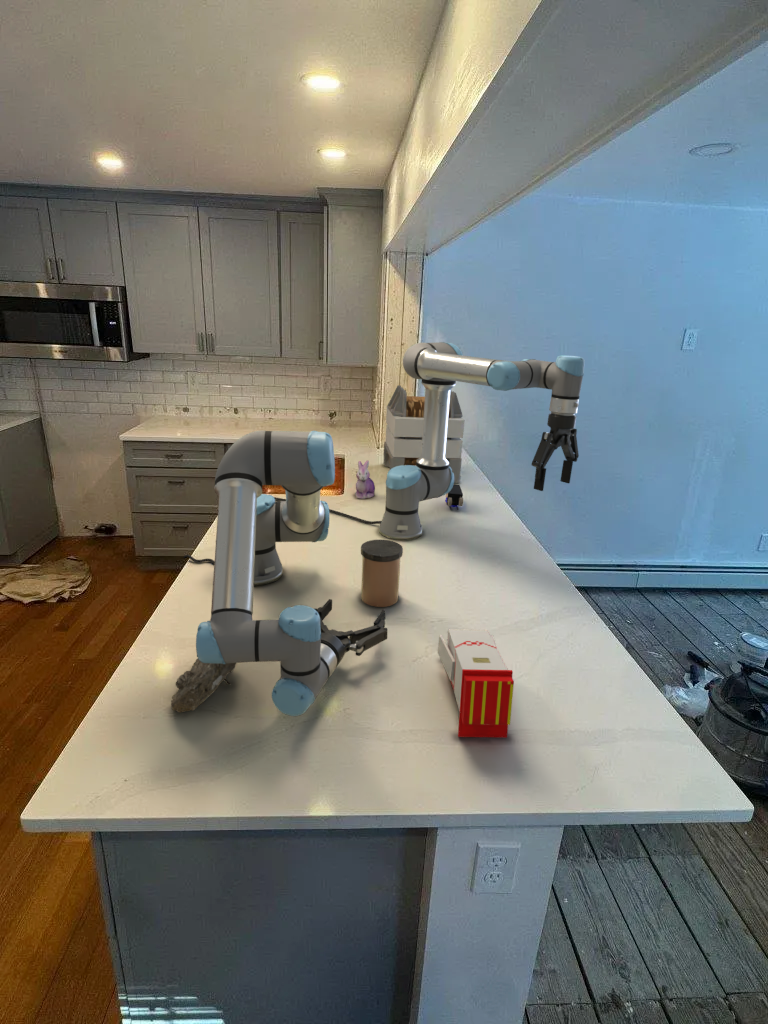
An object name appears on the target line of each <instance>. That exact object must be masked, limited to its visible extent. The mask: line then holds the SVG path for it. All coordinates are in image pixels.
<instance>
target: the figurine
mask: <svg viewBox="0 0 768 1024" xmlns="http://www.w3.org/2000/svg"><path fill="white" fill-rule="evenodd" d="M369 465H370V461H369V460H366V461H365V462H364V464H363V463H362V461H361V460H358V462H357V468H358V470H357V472H356V478H357V481H356V483H355V493H354V494H355V498H357V499H363V500H364V499H370V498H373V497H374V496H375V492H376V486H375V482H374V480H373V479H372V478H371V477H370V476H371V474H370V471H369V469H368V468H369Z"/></svg>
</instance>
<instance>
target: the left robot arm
mask: <svg viewBox="0 0 768 1024" xmlns="http://www.w3.org/2000/svg"><path fill="white" fill-rule="evenodd" d="M332 437H333V436H332V435H331V434H330V433H329V432H326V431H318V430H311V431H298V430H297V431H291V430H290V431H289V430H255V431H252V432H249V433H246V434H244V435H242V436H241V437H239V438H238V439H237V440H236V441H235V442H234V443H232V445H231V446H230V447H229V448H228V449H227V451H226V452H225V453H224V455H223V456H222V458H221V459H220V462H219V464H218V466H217V469H216V472H215V477H214V486H213V487H214V488H213V489H214V492H215V494H216V495H217V496H218V505H217V506H218V507H217V518H216V519H217V520H216V521H217V522H216V535H215V536H216V537H215V548H214V560H213V559H212V558H203V559H196V558H194V557H193V556H192V555H190V554H185V555H184V556H183V557H182V558H183V559H187V558H188V559H190V560H191V561H192V562H194V563H205V562H210V563H211V564H213V579H212V593H211V609H210V619H209V620H206V621H202V622H200V623H199V624H198V626H197V631H196V637H195V651H196V658H197V657H198V659H199V660H200V661H201V662H202V663H221V664H226V663H236V664H238V663H259V662H260V663H263V662H264V663H265V662H266V663H267V662H269V663H270V662H279V665H280V666H279V667H280V678H279V679H278V680H277V681H276V682H275V685H274V686H273V687H272V691H271V700H272V703H273V705H274V707H275V709H277V710H278V711H279V712H280V713H282V714H284V715H287V716H290V717H298V716H301V715H303V714H304V713H306V712H307V710H308V709H309V708H310V706H312V705H313V704H315V700H316V699H317V697H318V696H319V694H320V692H321V691H322V689H323V688H324V686H325V685H326V684H327V682H328V680H329V679H330V677H331V676H332V674H334V671H335V670H336V668H337V667H338V666H339V665H340V663H341V662H342V661H343V659H344V657H345V654H346V653H348V652H350V651H351V652H355V656H357V657H360V656H362V655H363V654H364V652H366V651H367V650H369V649H371V648H373V647H375V646H377V645H379V644H380V643H383V642H384V641H386V640H387V639H388V627H386V609H381V611H380V612H379V614H378V615H377V617H376V619H375V620H374V621H373V625H371V626H368V627H364V628H361V629H357V630H354V631H353V630H351V629H350V630H347V631H342V630H336V629H333V628H332V629H329V628H328V626H327V625H326V624H325V622H324V620H325V619H326V618H327V616H328V615H330V613H331V611H332V610H333V599H332V598H328V600H327V601H326V602H324V604H323V605H322V606H319V607H318V608H313V607H311V606H308V605H303V604H297V605H293V606H292V607H291V606H287V607H286V608H284V609H283V610H282V611H281V612H280V614H279V618H278V619H253V615H254V614H253V613H254V591H255V588H254V587H255V586H256V587H257V586H265V585H268V584H271V583H274V582H276V581H278V580H279V579H281V577H282V576H283V574H284V573H283V572H284V571H283V569H284V568H283V564H282V562H281V559H280V557H279V554H278V551H277V547H276V546H277V545H276V544H277V543H317V542H324V541H325V540H327V537H328V536H329V535H328V534H329V528H330V512H329V509H330V507H329V504H328V502H327V501H325V500H321V491H322V489H323V488H324V487H328V486H332V485H333V484H334V483H335V479H336V468H335V467H336V461H335V451H334V449H335V448H334V441H333V438H332ZM263 486H281V487H282V488H283V490H285V499H286V501H279V500H275V499H274V497H275V496H274V495H272V494H267V493H263Z"/></svg>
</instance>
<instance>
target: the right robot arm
mask: <svg viewBox="0 0 768 1024" xmlns="http://www.w3.org/2000/svg"><path fill="white" fill-rule="evenodd" d="M585 361H586V360H585V359H584V357H582V356H577V355H558V356H556V359H555V361H548V360H547V361H546V360H541V359H536V358H524V359H521V360H502V359H494V358H486V357H478V356H469V355H464V354H463V352H462V350H461V349H460V347H459V346H457V345H456V344H454V343H451V342H445V341H443V342H442V341H441V342H440V341H439V342H438V341H437V342H417V343H414V344H412V345H411V346H409V347H408V348H407V349H406V351H405V352H404V355H403V358H402V366H403V369H404V372H405V373H406V374H407V375H408V376H409V377H410V378H412V379H415V380H421V385H422V386H423V387H424V389H425V391H424V397H425V404H424V419H423V434H422V449H421V457H420V458H418V459H417V461H416V466H413V465H401V466H396V467H394V468H392V469H390V468H389V470H388V472H387V474H386V479H385V504H384V505H385V507H384V508H385V509H384V513H383V515H382V519H381V520H373V521H372V520H365V519H362V518H359V517H357V516H353V515H349V514H347V513H344V512H341V511H338V510H334V509H330V508H329V513H333V514H336V515H339V516H342V517H346V518H348V519H352V520H355V521H358V522H361V523H363V524H368V525H378V524H379V526H378V533H379V534H380V535H381V536H382V537H385V538H387V539H389V540H395V541H410V540H415V539H418V538H420V537H421V536H422V535H423V525H422V524H421V518H420V515H419V507H420V506H419V505H420V502H423V501H427V500H431V499H437V498H440V497H443V496H446V494H447V493H448V492H449V491H450V490H451V489H452V487H453V484H455V483H454V473H452V469H451V467H450V466H449V462H448V461H447V459H446V458H445V453H446V441H447V428H448V416H449V404H450V391H452V389H453V388H454V387H455V386H456V382H460V383H465V384H472V385H479V386H485V387H491V388H492V389H493V390H495V391H503V392H506V391H511V390H521V389H532V388H533V389H534V388H537V389H545V390H551V395H550V396H551V397H550V403H549V408H548V410H549V413H548V418H547V423H546V424H547V426H548V427H549V428H550V430H549V432H547V431H543V432H542V433H541V440H540V442H539V444H538V446H537V449H536V452H535V454H534V457H533V460H532V461H531V466H532V467H534V468H535V473H534V481H533V490H537V491H539V492H544V487H545V481H546V474H547V468H546V466H547V465H548V463H549V460H550V459H551V457H552V455H553V453H554V452H555V451H556V450H557V449H558V448H561V451H562V454H563V455H564V458H565V459H563V462H562V468H561V473H560V474H561V475H560V479H559V481H560V482H561V483H565V484H570V483H571V477H572V470H573V465H574V463H576V462H577V461H578V458H579V456H580V455H579V447H578V439H577V433H578V429H577V428H576V423H577V417H578V416H577V415H576V414H578V408H579V406H580V404H579V402H580V395H581V390H582V384H583V378H584V375H585V364H586V363H585ZM273 497H274V499H275V501H286V498H282V497H281V498H280V497H277V496H276V497H275V496H273Z"/></svg>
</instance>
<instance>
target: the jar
mask: <svg viewBox="0 0 768 1024" xmlns="http://www.w3.org/2000/svg"><path fill="white" fill-rule="evenodd" d="M361 556H362V555H361ZM361 560H362V561H361V587H360V588H361V590H360V600H361V601H362V602H363V603H364V604H366V605H368V606H370V607H375V608H385V607H386V608H387V607H390V606H393V605H395V604H396V603H397V602H398V600H399V593H400V592H399V590H400V572H401V558H399V559H397V560H395V561H390V562H377V561H372V560H369V559H366V558H364V557H363V556H362V557H361Z"/></svg>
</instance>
